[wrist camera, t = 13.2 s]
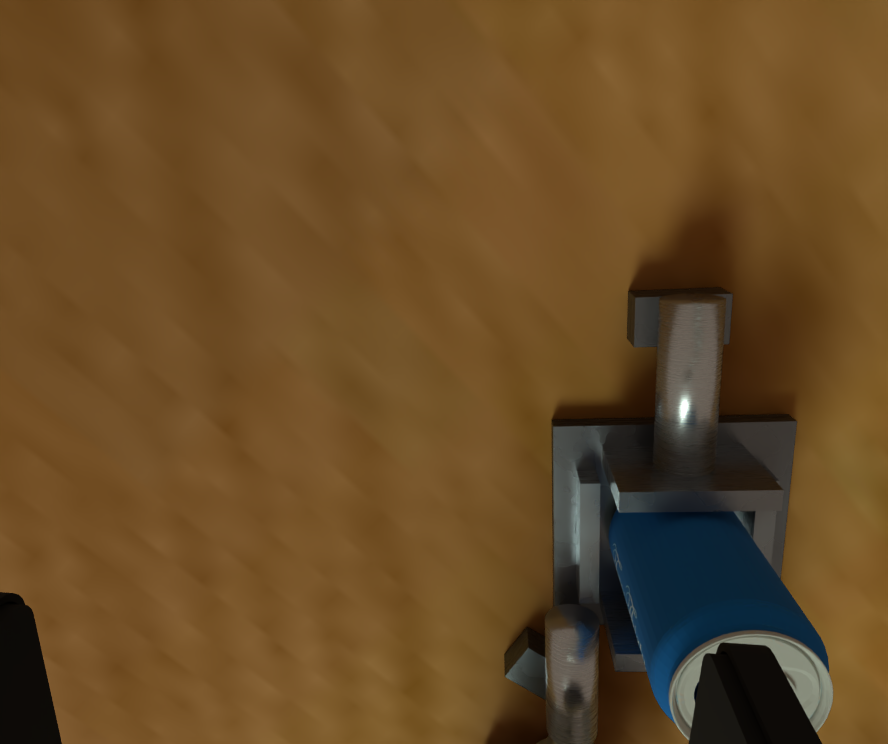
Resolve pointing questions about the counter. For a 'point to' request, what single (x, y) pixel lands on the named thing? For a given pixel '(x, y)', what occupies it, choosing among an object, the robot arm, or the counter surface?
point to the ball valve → (549, 741)
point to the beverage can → (710, 606)
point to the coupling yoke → (646, 497)
